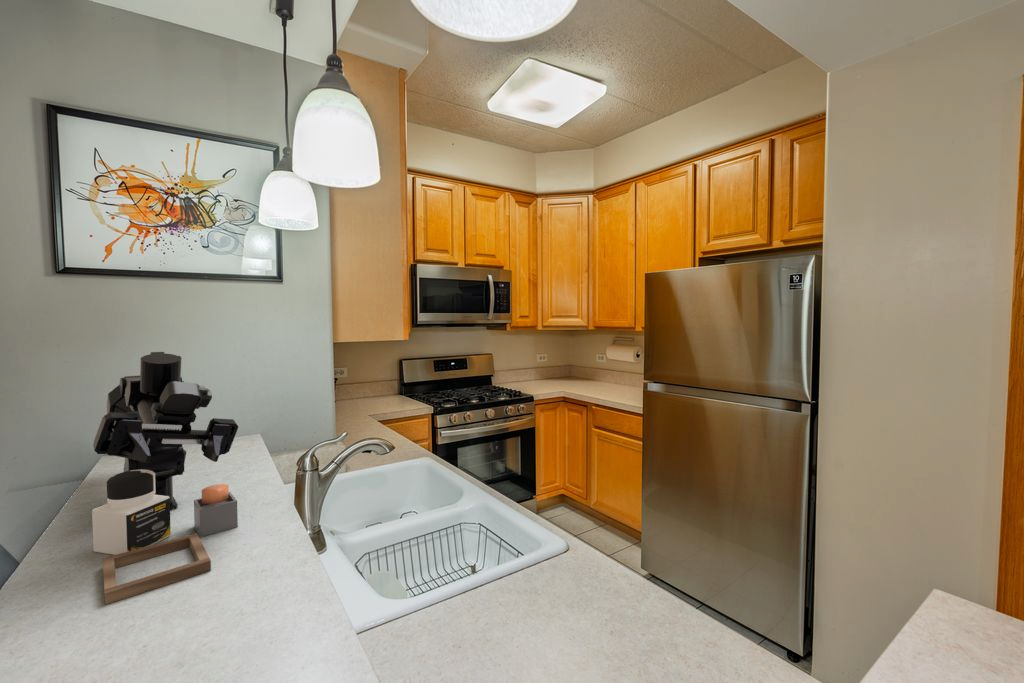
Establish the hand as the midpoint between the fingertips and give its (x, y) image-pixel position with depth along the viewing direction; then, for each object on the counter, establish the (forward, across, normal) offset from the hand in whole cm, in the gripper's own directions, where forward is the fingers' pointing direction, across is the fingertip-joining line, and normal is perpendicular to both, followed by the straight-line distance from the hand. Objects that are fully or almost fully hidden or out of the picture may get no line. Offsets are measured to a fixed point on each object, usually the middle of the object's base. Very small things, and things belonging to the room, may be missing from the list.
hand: (184, 459), depth 69 cm
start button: (-4, +9, +10) cm, 14 cm away
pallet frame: (+6, 0, +15) cm, 16 cm away
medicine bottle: (-5, 0, +19) cm, 19 cm away
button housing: (-3, +10, +15) cm, 18 cm away
